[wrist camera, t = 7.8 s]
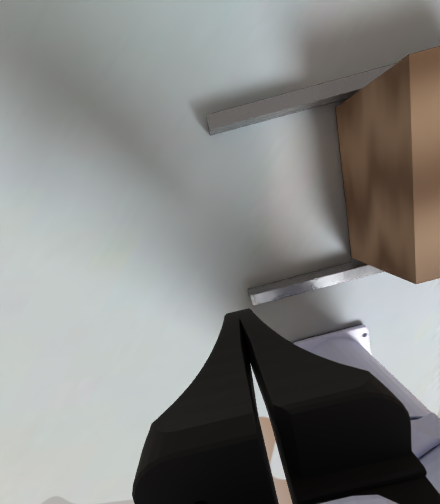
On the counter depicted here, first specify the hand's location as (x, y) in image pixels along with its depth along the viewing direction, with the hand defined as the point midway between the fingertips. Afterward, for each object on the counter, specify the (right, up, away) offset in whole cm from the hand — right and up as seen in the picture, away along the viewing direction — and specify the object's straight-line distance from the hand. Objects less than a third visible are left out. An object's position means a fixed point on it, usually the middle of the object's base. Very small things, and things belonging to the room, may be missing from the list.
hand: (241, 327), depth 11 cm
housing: (+15, +11, +8) cm, 20 cm away
